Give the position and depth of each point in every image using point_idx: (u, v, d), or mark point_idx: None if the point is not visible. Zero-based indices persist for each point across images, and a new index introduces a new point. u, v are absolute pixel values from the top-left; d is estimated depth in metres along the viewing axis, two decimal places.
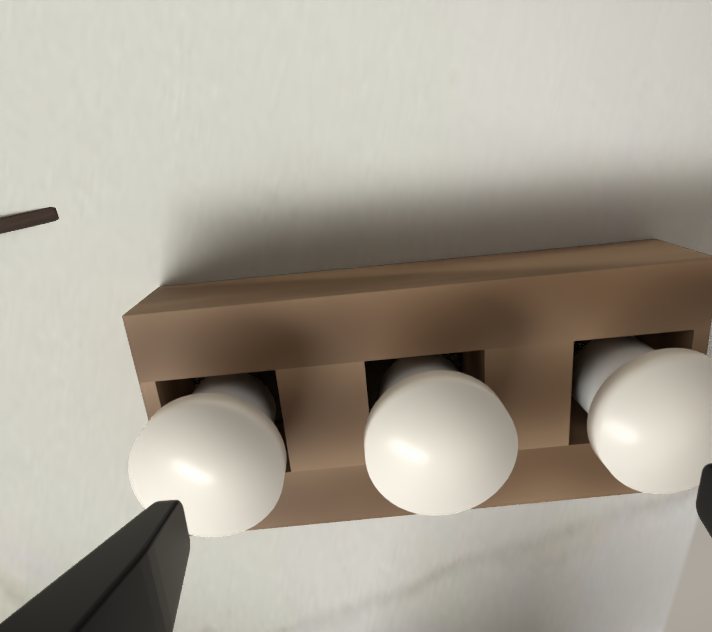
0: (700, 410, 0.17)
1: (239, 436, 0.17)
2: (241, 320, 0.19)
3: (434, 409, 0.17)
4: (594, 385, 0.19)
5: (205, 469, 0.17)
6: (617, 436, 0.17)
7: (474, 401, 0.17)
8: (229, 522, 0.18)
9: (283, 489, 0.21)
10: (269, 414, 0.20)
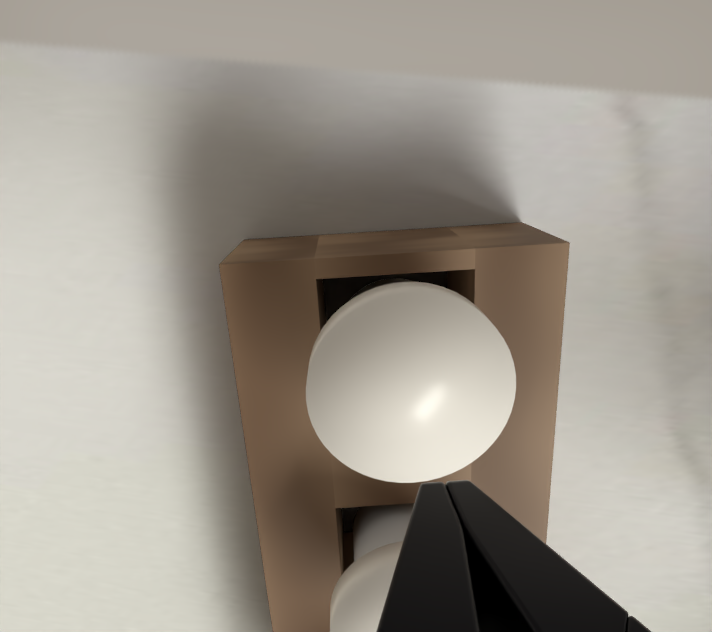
0: (382, 369, 0.12)
1: None
2: None
3: None
4: None
5: None
6: (414, 463, 0.13)
7: (353, 610, 0.15)
8: None
9: None
10: None
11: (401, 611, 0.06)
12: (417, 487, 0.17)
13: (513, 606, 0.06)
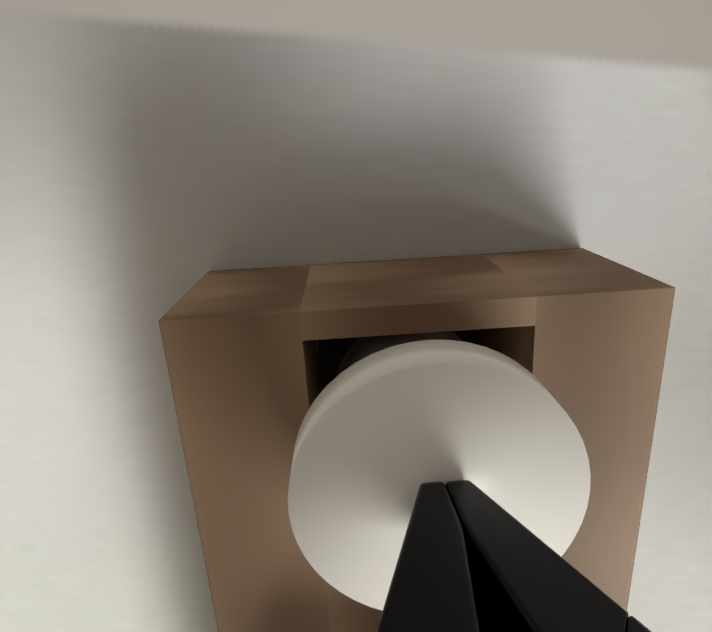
0: (399, 469, 0.08)
1: None
2: None
3: None
4: None
5: None
6: None
7: None
8: None
9: None
10: None
11: (401, 611, 0.06)
12: None
13: (513, 606, 0.06)
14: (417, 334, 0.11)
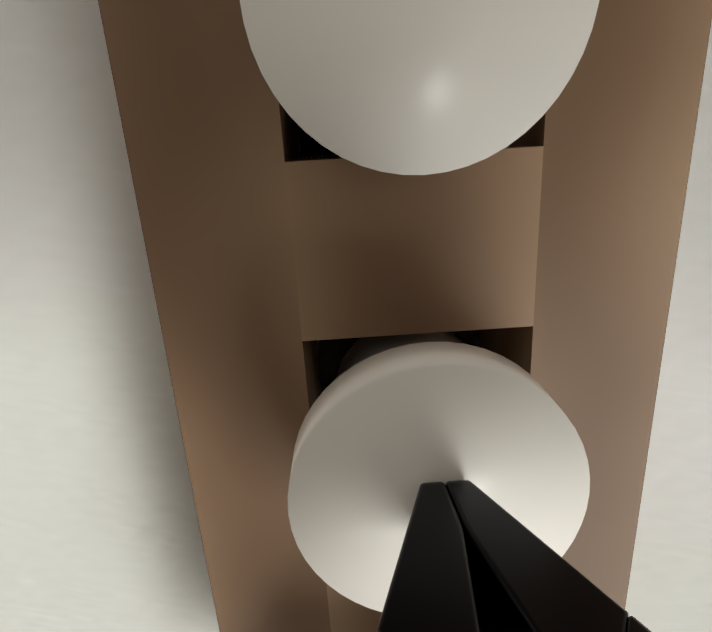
0: None
1: None
2: None
3: (342, 518, 0.09)
4: None
5: None
6: (425, 136, 0.08)
7: (328, 453, 0.08)
8: None
9: None
10: None
11: (401, 611, 0.06)
12: (442, 302, 0.10)
13: (513, 606, 0.06)
14: None
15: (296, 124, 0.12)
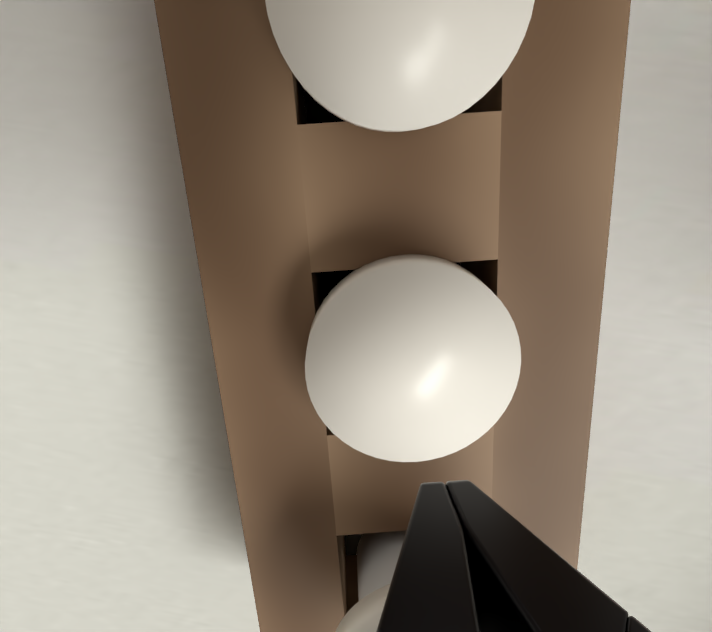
0: None
1: None
2: (269, 566, 0.15)
3: (344, 381, 0.12)
4: None
5: None
6: (405, 100, 0.10)
7: (333, 330, 0.12)
8: None
9: None
10: (402, 540, 0.15)
11: (401, 611, 0.06)
12: (424, 239, 0.12)
13: (513, 606, 0.06)
14: None
15: (304, 101, 0.14)
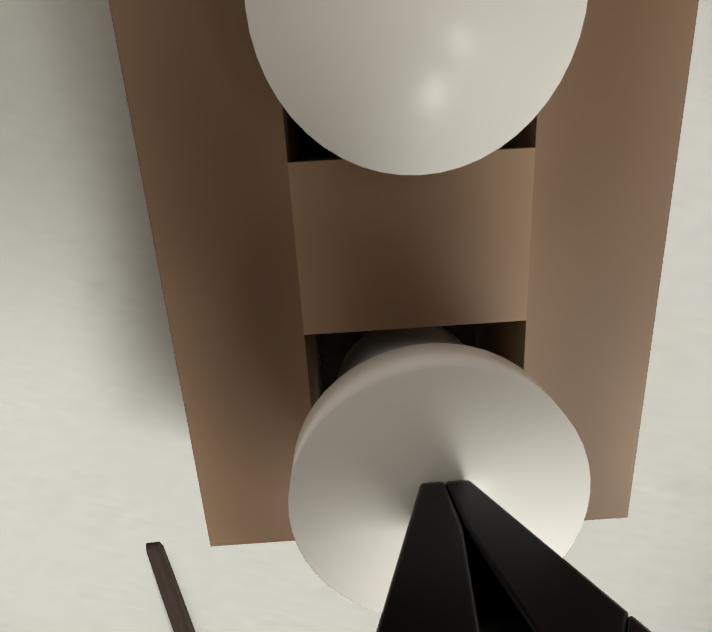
0: None
1: (355, 442, 0.08)
2: (208, 383, 0.11)
3: (307, 16, 0.08)
4: None
5: None
6: None
7: None
8: (558, 475, 0.09)
9: (563, 337, 0.11)
10: (397, 342, 0.11)
11: (401, 611, 0.06)
12: None
13: (513, 606, 0.06)
14: None
15: None
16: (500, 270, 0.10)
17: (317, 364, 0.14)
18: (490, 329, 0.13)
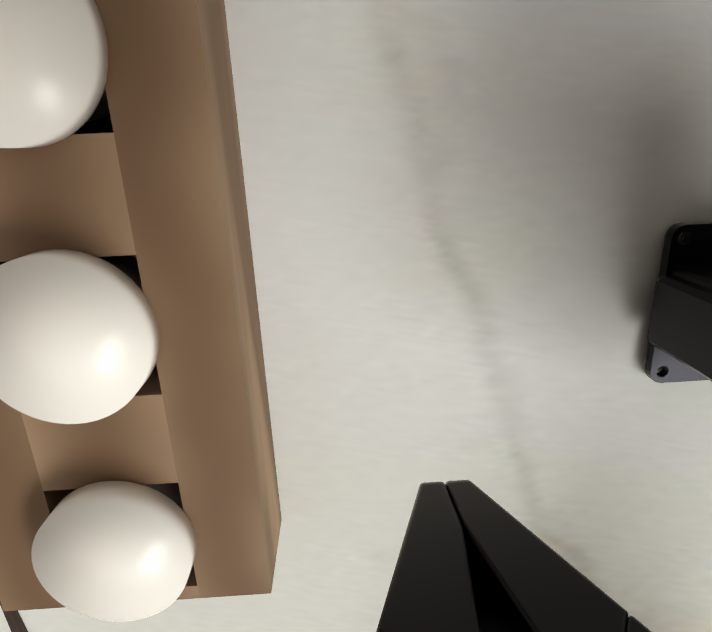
0: None
1: (61, 534, 0.17)
2: None
3: None
4: None
5: (104, 564, 0.17)
6: (1, 123, 0.13)
7: None
8: (169, 549, 0.17)
9: (203, 491, 0.18)
10: None
11: (401, 611, 0.06)
12: (69, 237, 0.15)
13: (513, 606, 0.06)
14: None
15: None
16: (155, 456, 0.17)
17: None
18: None
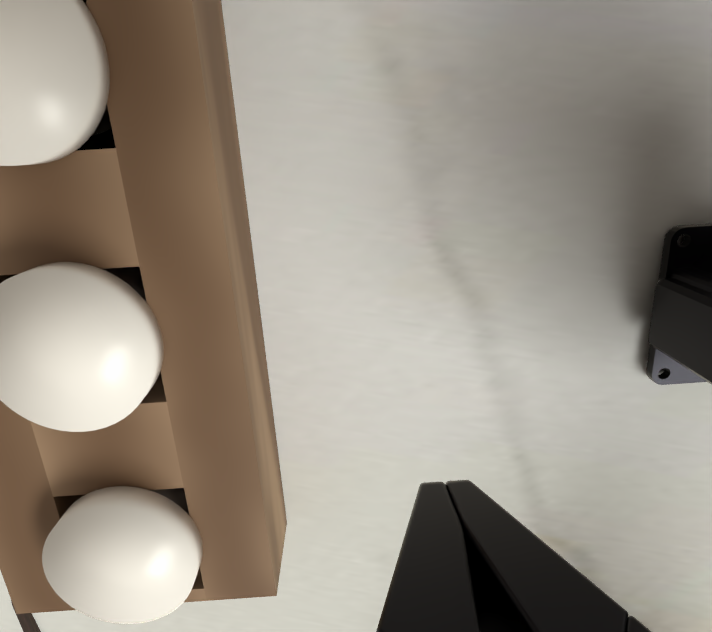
0: None
1: (70, 539, 0.17)
2: (0, 522, 0.18)
3: (8, 364, 0.15)
4: None
5: (113, 567, 0.18)
6: (7, 142, 0.13)
7: None
8: (175, 553, 0.17)
9: (208, 496, 0.18)
10: None
11: (401, 611, 0.06)
12: (74, 250, 0.15)
13: (513, 606, 0.06)
14: None
15: None
16: (161, 462, 0.18)
17: None
18: None
